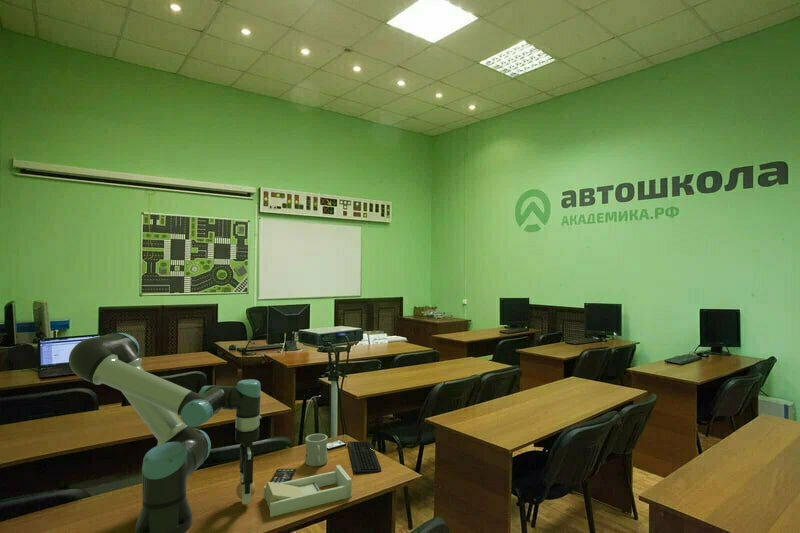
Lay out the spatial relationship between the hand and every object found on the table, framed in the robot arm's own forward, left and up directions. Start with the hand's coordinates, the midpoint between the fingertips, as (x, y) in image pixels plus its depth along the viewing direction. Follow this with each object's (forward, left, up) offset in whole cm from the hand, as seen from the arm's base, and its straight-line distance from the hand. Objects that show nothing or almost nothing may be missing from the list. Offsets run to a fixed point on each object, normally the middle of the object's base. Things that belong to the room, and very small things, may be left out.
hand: (245, 497), depth 143 cm
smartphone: (+15, +13, -3) cm, 20 cm away
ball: (0, 0, +3) cm, 3 cm away
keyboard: (+49, +16, -3) cm, 52 cm away
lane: (+20, -5, -2) cm, 20 cm away
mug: (+30, +19, -2) cm, 35 cm away
